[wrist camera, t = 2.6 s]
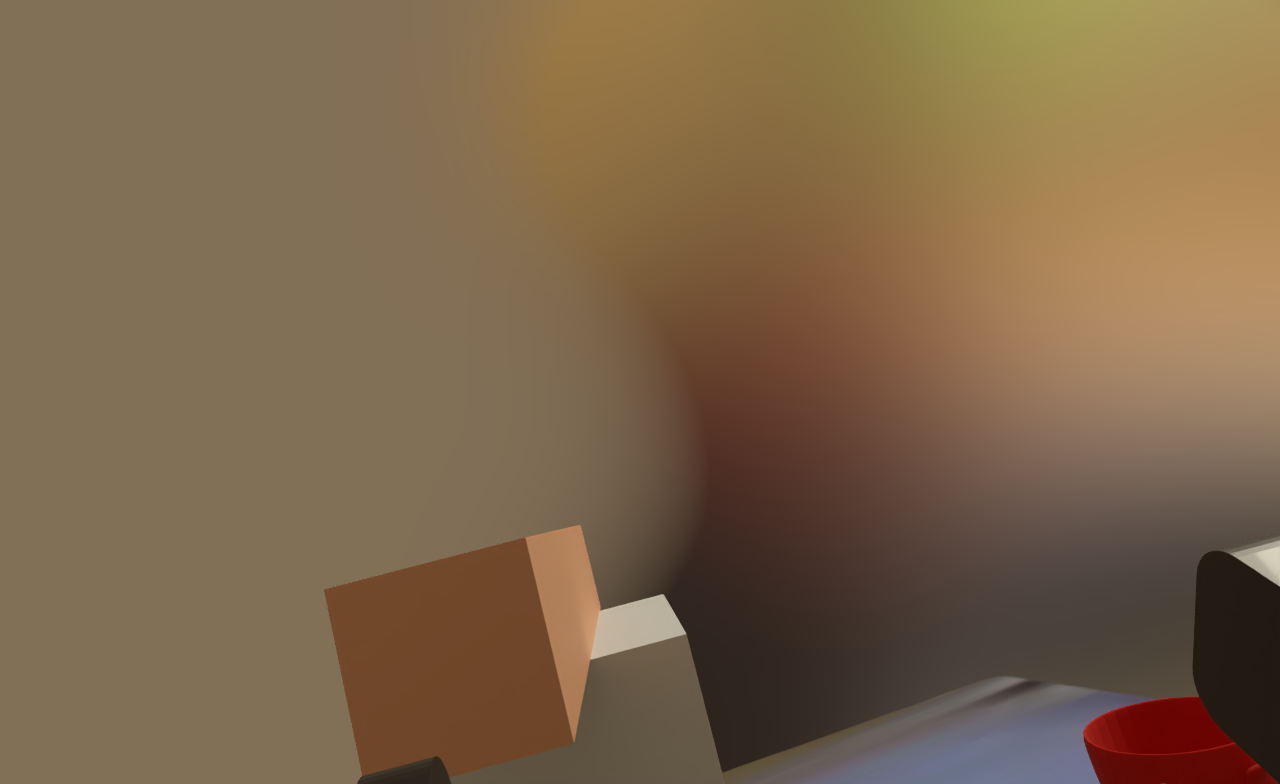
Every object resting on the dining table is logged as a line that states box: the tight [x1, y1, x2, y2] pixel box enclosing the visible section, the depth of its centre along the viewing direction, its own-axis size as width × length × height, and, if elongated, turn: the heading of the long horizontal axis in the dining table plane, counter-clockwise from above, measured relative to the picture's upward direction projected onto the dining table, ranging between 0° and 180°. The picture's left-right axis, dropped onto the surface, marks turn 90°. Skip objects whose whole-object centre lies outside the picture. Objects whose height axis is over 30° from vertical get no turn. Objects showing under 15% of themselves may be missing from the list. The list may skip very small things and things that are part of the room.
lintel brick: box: [324, 525, 600, 777], centre depth 30 cm, size 26×4×4 cm, turn 1°
